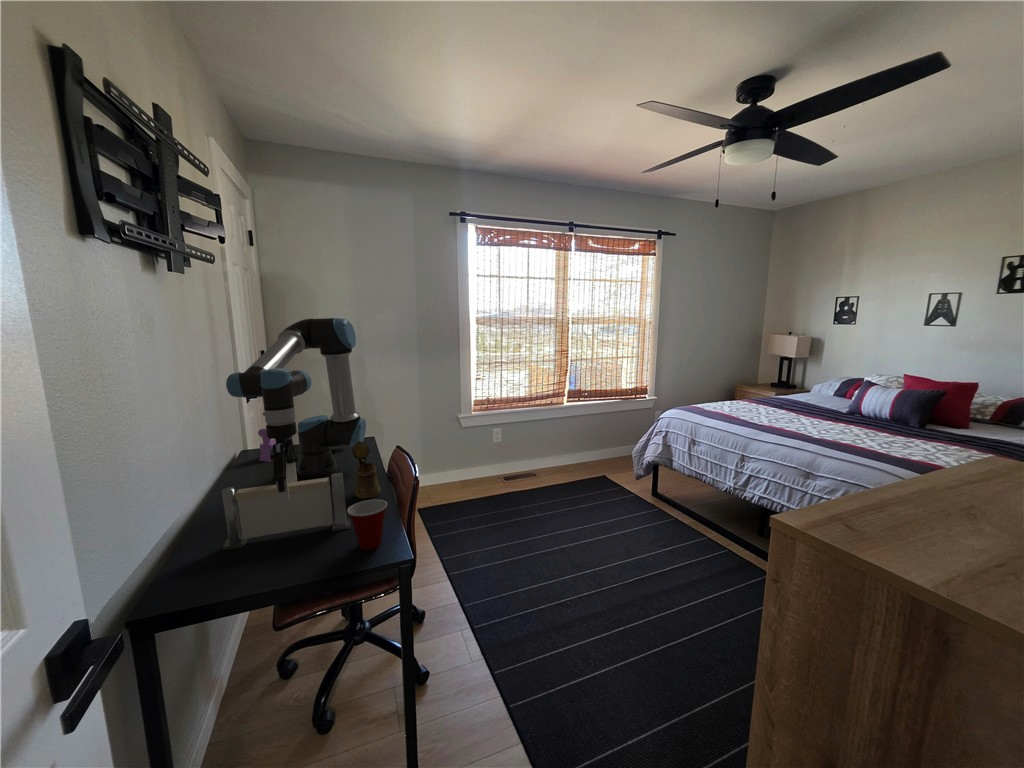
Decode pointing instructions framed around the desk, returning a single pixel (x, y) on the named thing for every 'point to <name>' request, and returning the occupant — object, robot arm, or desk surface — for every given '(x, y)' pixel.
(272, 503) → the gate
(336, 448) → the media streaming box
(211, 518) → the desk surface
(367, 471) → the brown disc-topped figurine
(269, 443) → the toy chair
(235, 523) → the gate frame
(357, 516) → the plastic cup
